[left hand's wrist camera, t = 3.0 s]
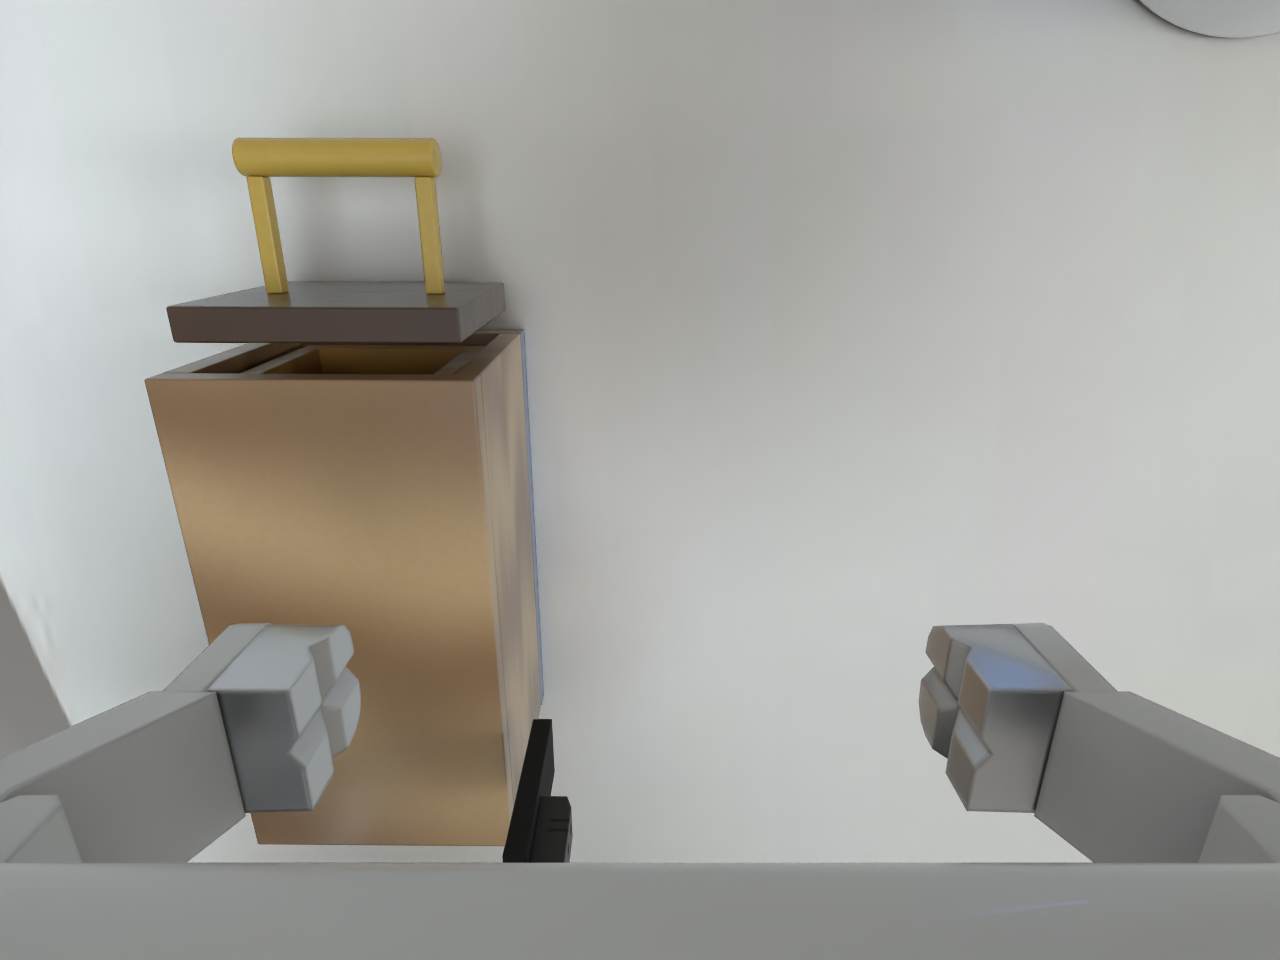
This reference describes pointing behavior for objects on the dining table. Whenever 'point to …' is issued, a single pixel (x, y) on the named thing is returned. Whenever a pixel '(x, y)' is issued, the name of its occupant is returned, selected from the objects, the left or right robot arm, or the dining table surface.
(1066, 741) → the left robot arm
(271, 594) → the open wooden box
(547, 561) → the dining table surface
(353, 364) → the drawer
